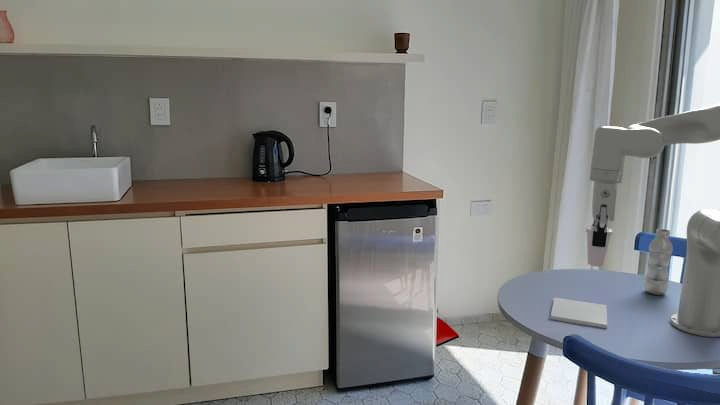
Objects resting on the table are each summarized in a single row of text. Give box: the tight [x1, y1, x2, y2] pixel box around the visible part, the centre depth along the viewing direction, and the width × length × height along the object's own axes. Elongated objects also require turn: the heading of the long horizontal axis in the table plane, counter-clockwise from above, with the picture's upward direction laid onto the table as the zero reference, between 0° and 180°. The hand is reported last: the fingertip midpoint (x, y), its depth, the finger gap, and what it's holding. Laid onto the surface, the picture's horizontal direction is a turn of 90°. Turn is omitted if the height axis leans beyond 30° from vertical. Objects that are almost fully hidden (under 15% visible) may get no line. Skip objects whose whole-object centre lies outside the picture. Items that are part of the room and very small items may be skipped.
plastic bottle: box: [643, 228, 674, 296], centre depth 161 cm, size 6×7×20 cm
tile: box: [549, 297, 608, 329], centre depth 148 cm, size 14×14×1 cm
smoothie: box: [585, 225, 614, 268], centre depth 140 cm, size 6×6×14 cm
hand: (597, 242), depth 140 cm, fingers closed on smoothie, 6 cm apart
